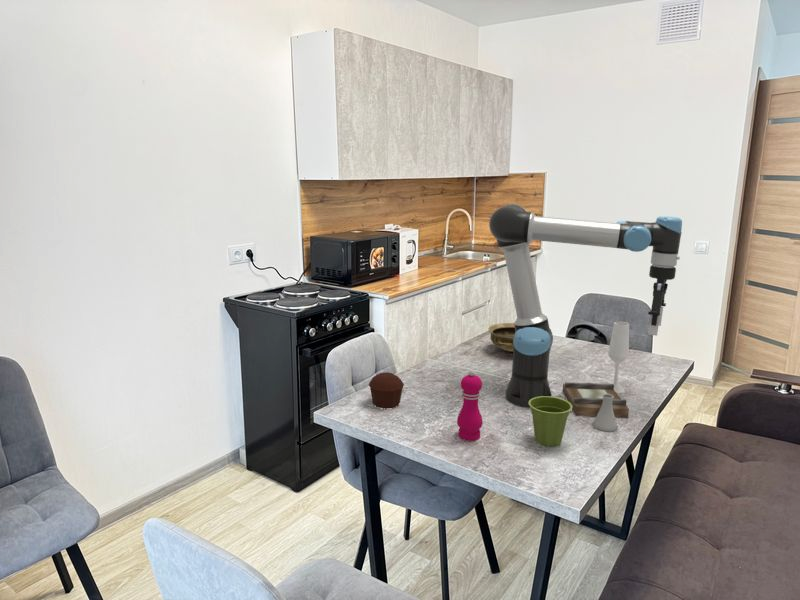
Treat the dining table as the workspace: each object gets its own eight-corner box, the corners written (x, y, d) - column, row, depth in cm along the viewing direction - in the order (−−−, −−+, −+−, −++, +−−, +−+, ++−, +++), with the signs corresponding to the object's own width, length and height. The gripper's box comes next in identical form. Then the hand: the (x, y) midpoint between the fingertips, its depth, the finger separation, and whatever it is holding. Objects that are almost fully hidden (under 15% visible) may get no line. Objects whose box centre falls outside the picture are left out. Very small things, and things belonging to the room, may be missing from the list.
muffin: (411, 404, 182) (411, 375, 180) (385, 413, 175) (385, 383, 173) (386, 393, 191) (387, 365, 189) (361, 402, 184) (361, 373, 181)
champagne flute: (606, 384, 201) (612, 320, 196) (626, 388, 198) (633, 322, 193) (603, 390, 196) (609, 324, 190) (623, 394, 193) (630, 327, 187)
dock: (575, 415, 175) (576, 402, 174) (562, 391, 194) (563, 379, 193) (628, 418, 174) (629, 404, 173) (609, 393, 193) (610, 381, 192)
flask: (590, 429, 166) (593, 397, 164) (594, 419, 172) (597, 389, 170) (616, 434, 163) (619, 402, 161) (619, 424, 169) (622, 393, 167)
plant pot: (544, 428, 166) (547, 392, 164) (578, 443, 157) (581, 406, 155) (517, 438, 159) (519, 401, 157) (550, 455, 150) (553, 416, 148)
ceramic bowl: (528, 368, 217) (530, 343, 215) (474, 356, 231) (475, 333, 229) (556, 349, 241) (558, 327, 239) (505, 339, 255) (506, 318, 253)
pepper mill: (451, 435, 161) (453, 369, 156) (467, 428, 166) (469, 364, 161) (471, 444, 156) (474, 376, 151) (486, 436, 161) (490, 370, 156)
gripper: (673, 272, 166) (664, 341, 171) (678, 262, 187) (669, 323, 192) (646, 270, 169) (637, 337, 174) (654, 259, 191) (646, 319, 196)
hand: (654, 329), depth 183 cm, fingers open, 13 cm apart
